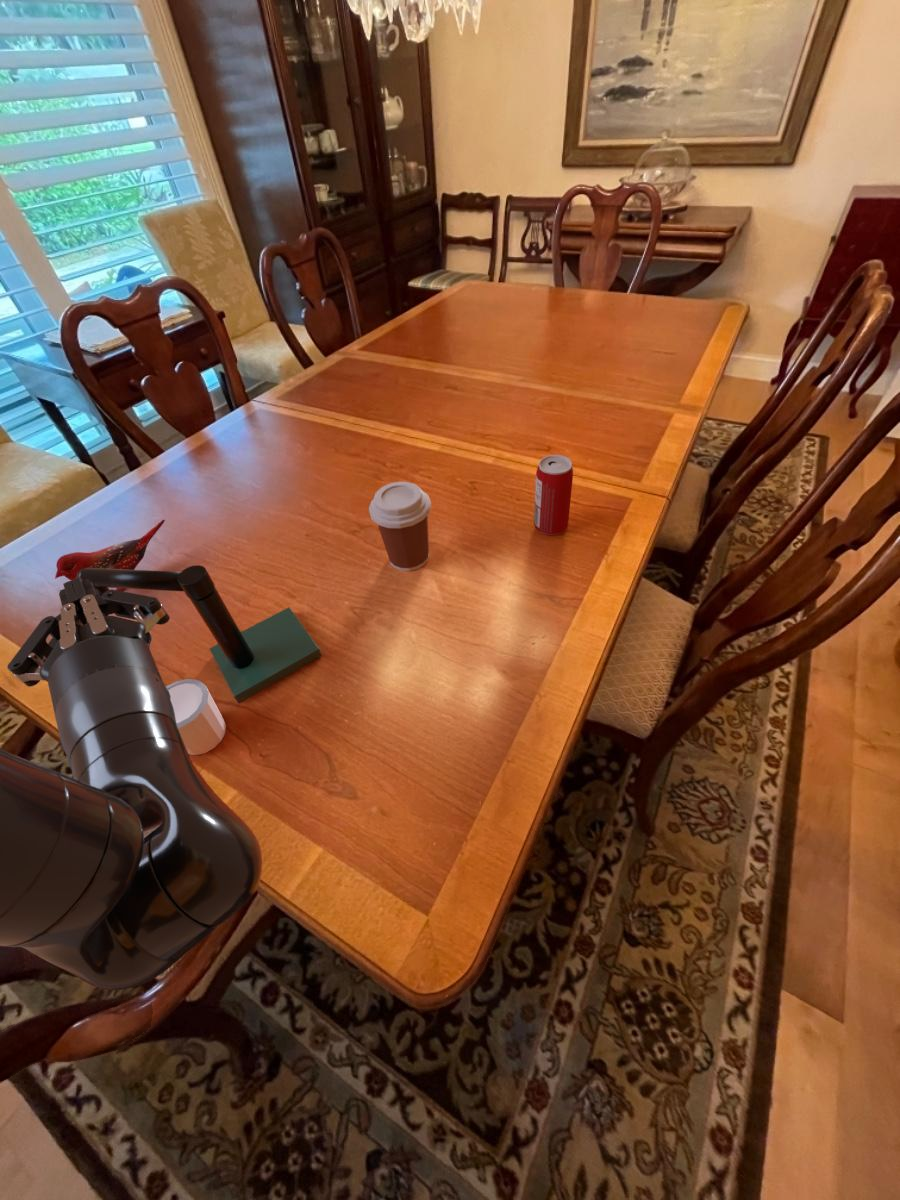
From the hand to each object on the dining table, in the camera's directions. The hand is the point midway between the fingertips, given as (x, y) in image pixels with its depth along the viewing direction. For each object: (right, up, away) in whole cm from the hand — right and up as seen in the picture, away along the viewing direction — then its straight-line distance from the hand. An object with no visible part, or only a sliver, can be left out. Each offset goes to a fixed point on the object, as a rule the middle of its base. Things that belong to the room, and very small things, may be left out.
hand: (76, 586), depth 52 cm
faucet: (+11, -9, +21) cm, 26 cm away
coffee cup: (+30, +5, +33) cm, 45 cm away
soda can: (+53, +11, +35) cm, 65 cm away
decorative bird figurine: (-14, +2, +35) cm, 38 cm away
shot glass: (+6, -18, +14) cm, 23 cm away
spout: (+1, -1, +12) cm, 12 cm away
